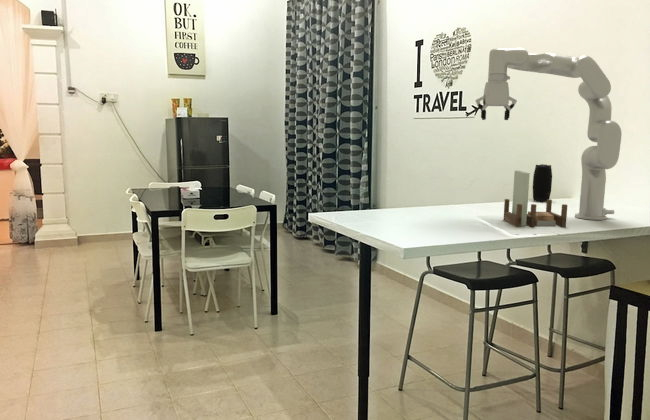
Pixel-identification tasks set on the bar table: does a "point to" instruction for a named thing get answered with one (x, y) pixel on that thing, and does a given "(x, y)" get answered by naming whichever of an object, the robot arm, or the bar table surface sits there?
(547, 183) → the portable speaker
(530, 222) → the rack
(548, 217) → the offcut
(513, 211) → the sheet
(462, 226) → the bar table surface
